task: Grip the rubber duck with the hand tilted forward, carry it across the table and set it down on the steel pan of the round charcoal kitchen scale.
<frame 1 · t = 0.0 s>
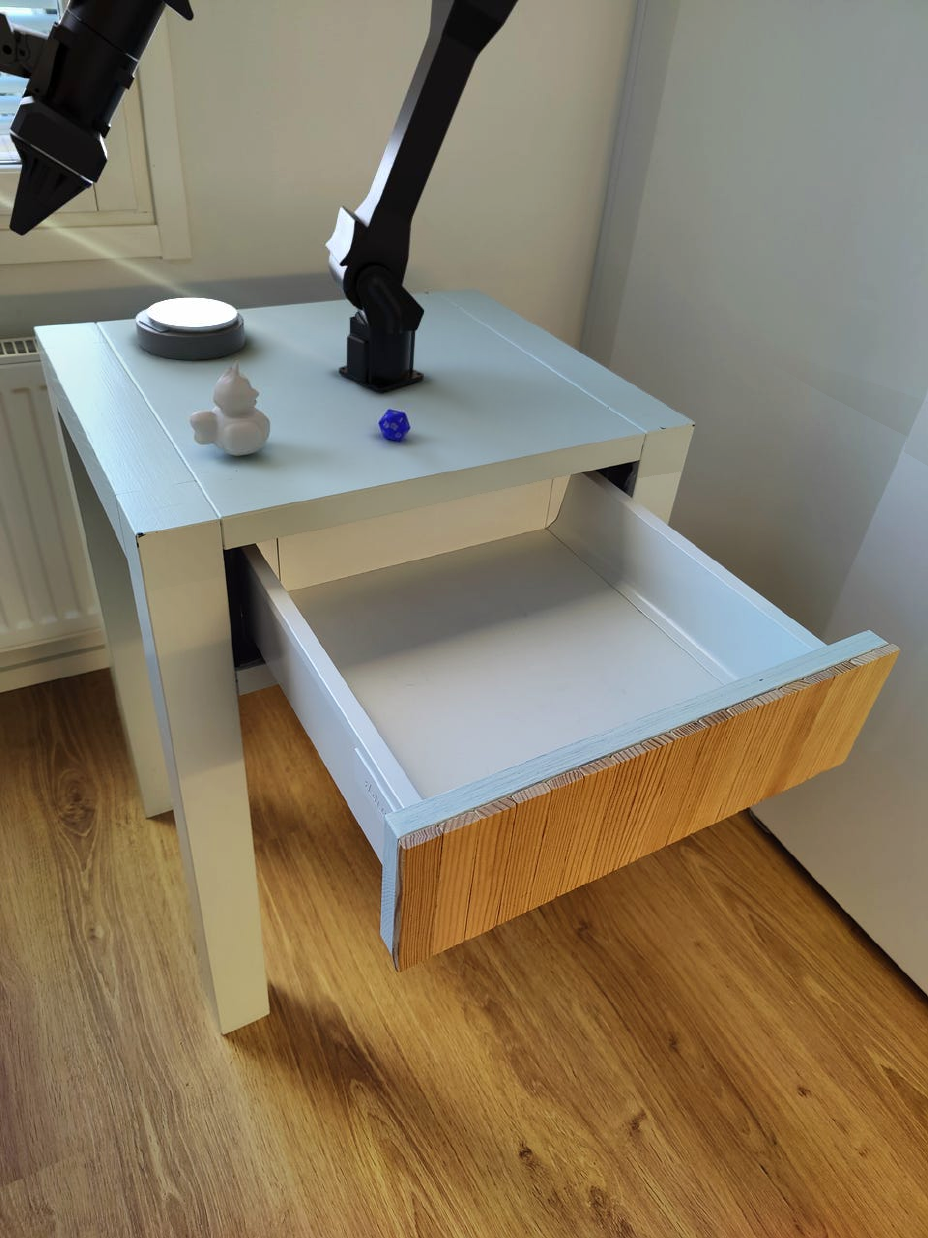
hand: (19, 217, 71), 15 cm above the table, tool tilted 35°, fingers open, 9 cm apart
scale: (192, 341, 93), on the table
rubber duck: (232, 454, 74), on the table
die: (393, 439, 79), on the table
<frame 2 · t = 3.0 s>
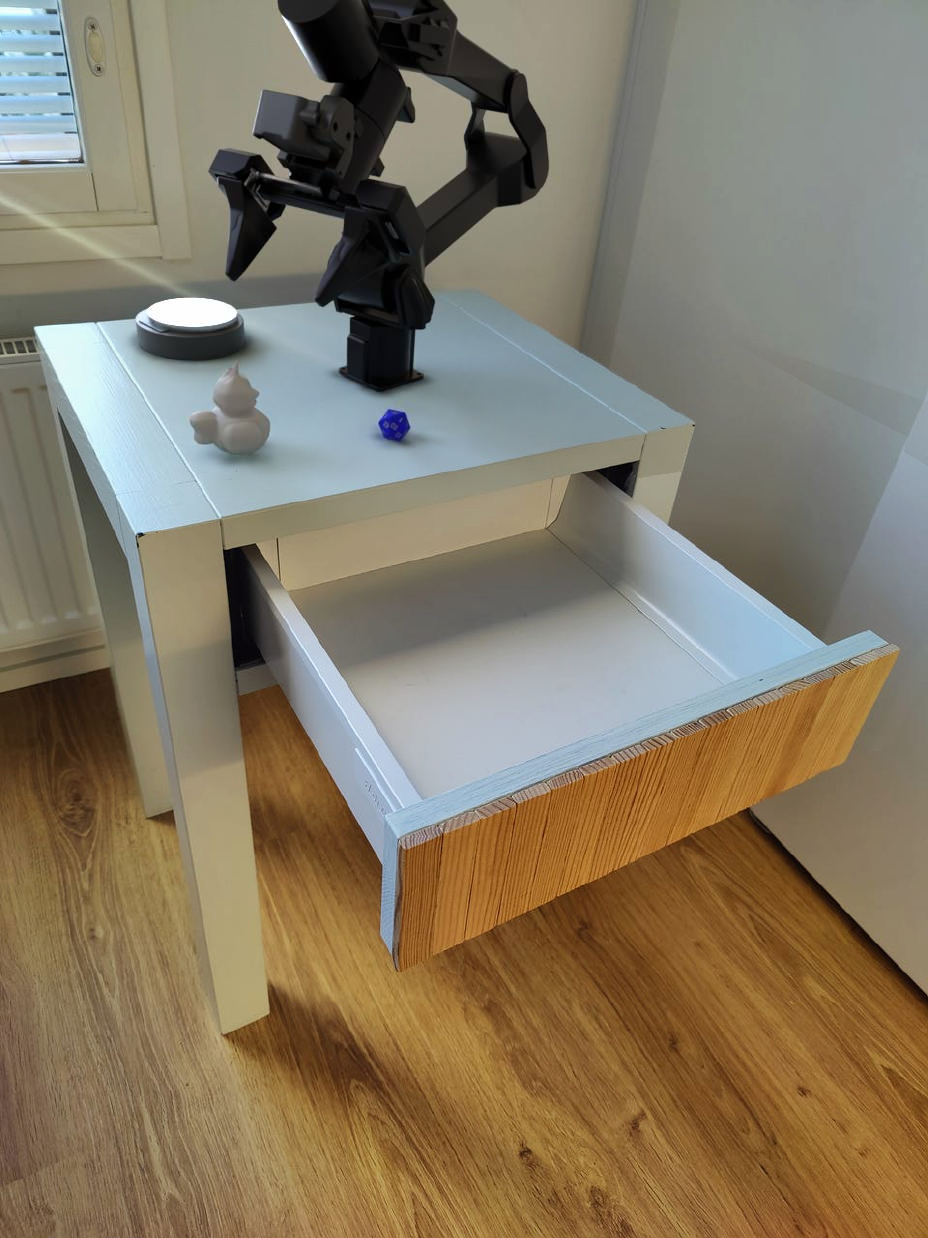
hand: (273, 290, 71), 12 cm above the table, tool tilted 45°, fingers open, 9 cm apart
nothing on the table moved.
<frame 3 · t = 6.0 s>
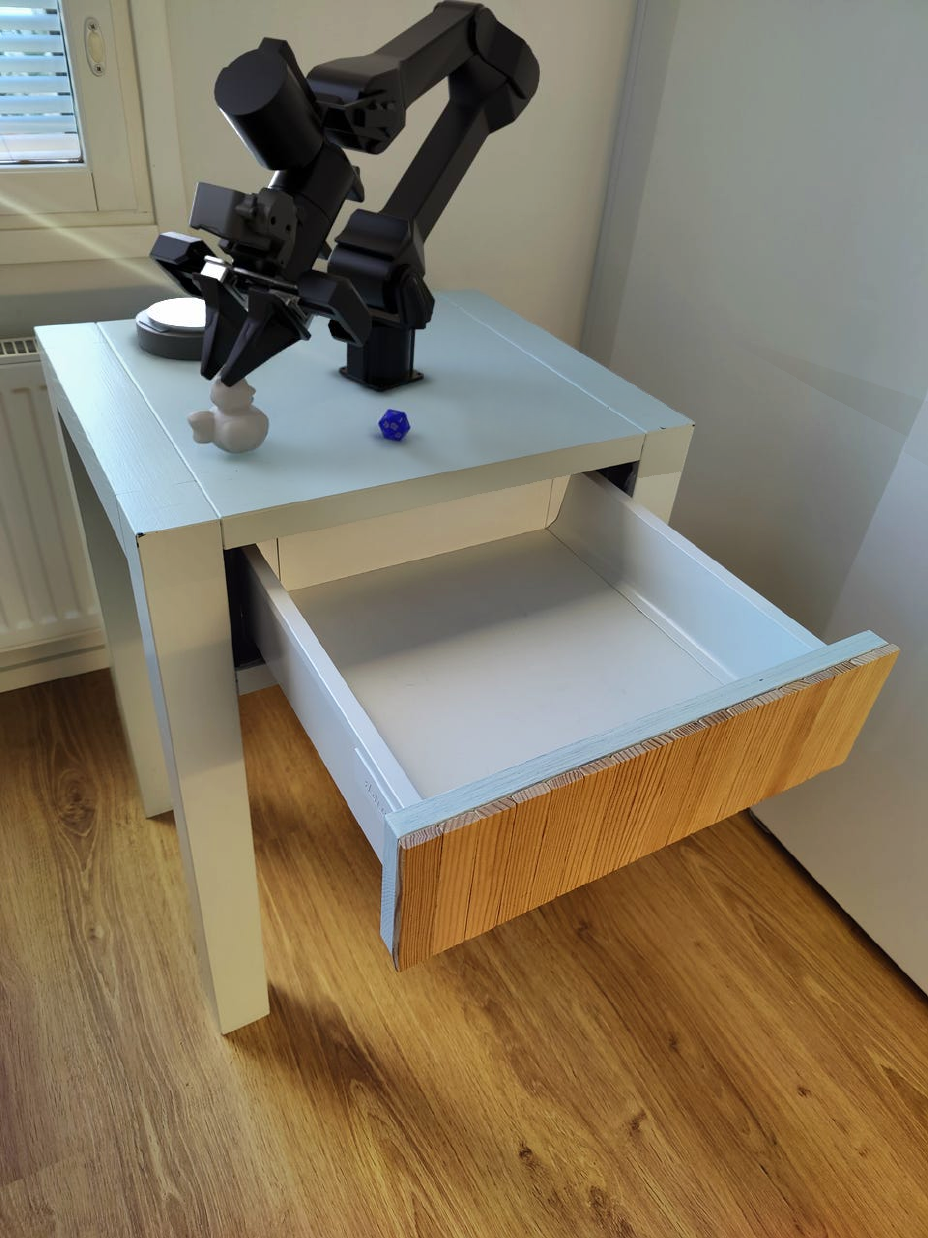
hand: (214, 381, 69), 7 cm above the table, tool tilted 45°, fingers closed on rubber duck
rubber duck: (232, 452, 74), on the table, touching gripper
everything else where it was.
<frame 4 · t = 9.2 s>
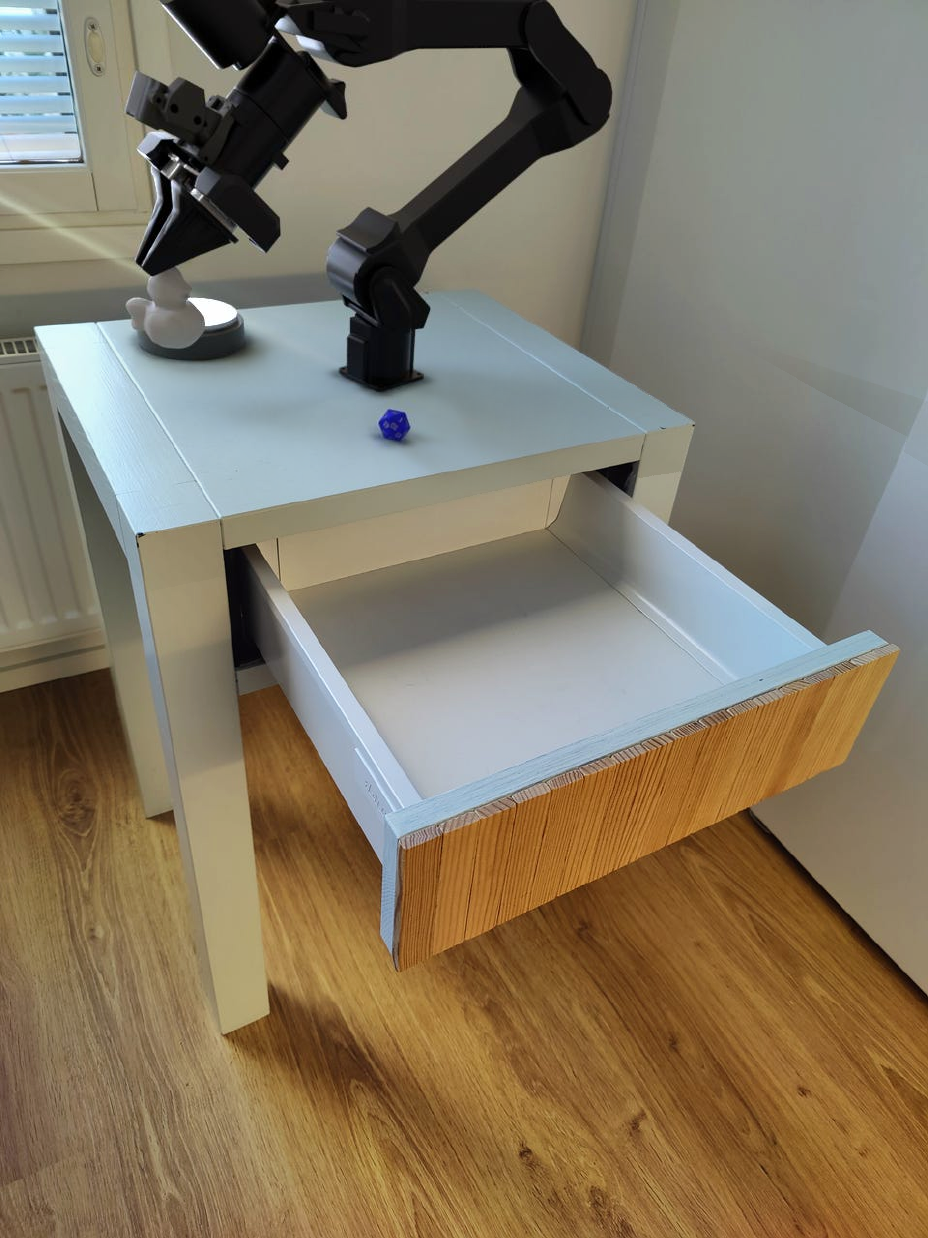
hand: (143, 269, 72), 12 cm above the table, tool tilted 45°, fingers closed on rubber duck
rubber duck: (170, 347, 77), point 5 cm above the table, touching gripper
everything else where it was.
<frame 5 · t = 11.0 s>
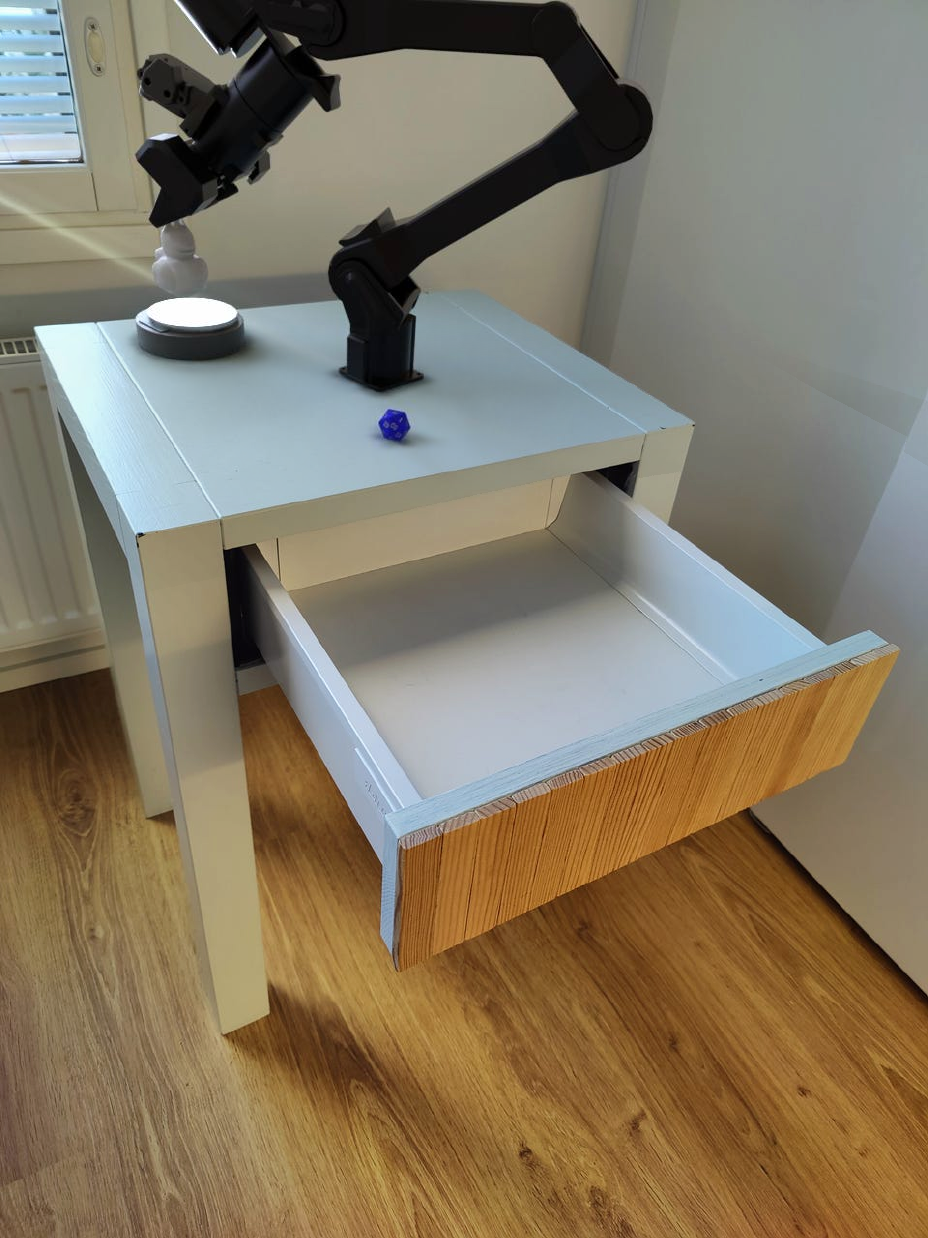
hand: (157, 221, 84), 12 cm above the table, tool tilted 45°, fingers closed on rubber duck
rubber duck: (182, 295, 89), point 5 cm above the table, touching gripper
everything else where it was.
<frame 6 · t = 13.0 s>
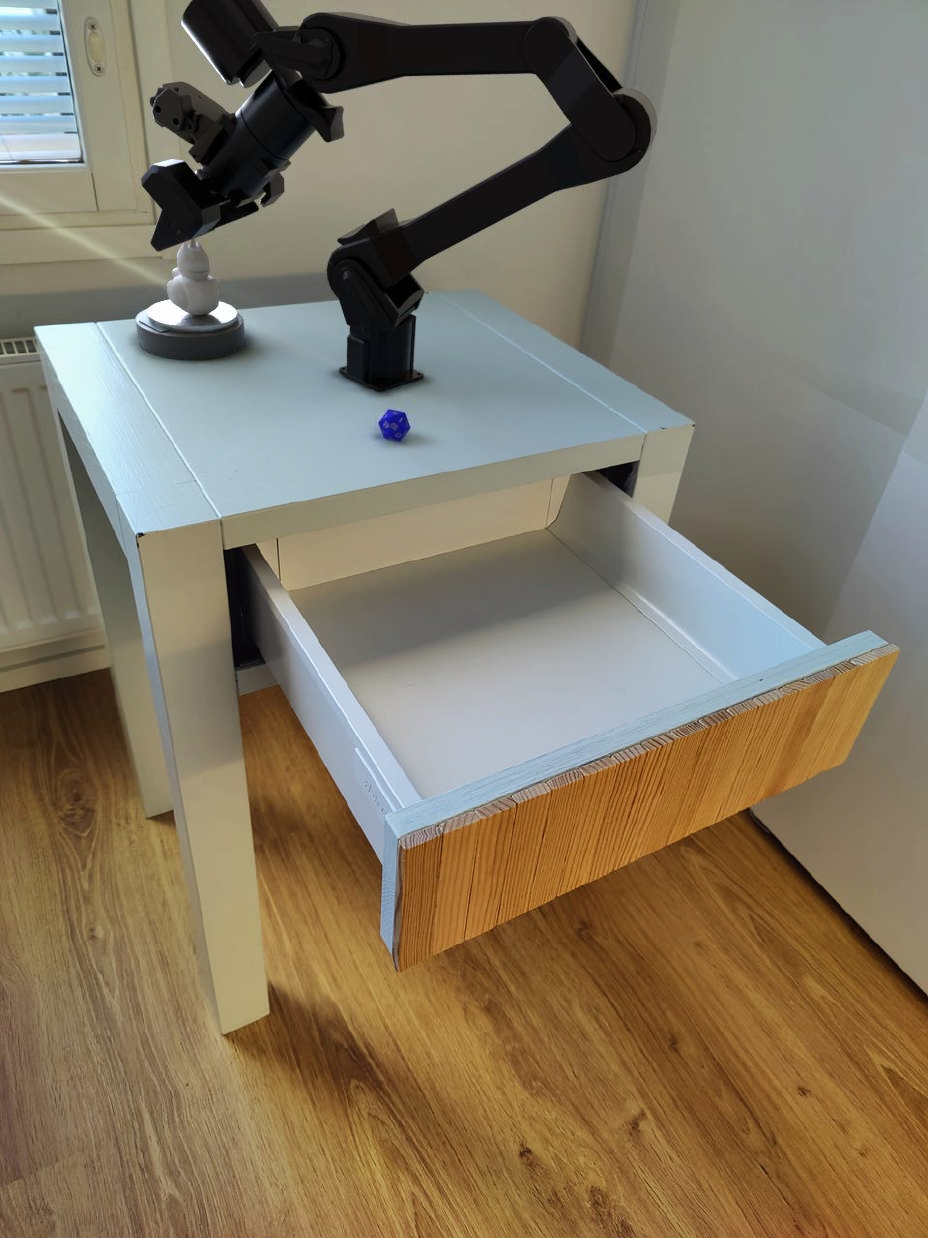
hand: (170, 240, 88), 10 cm above the table, tool tilted 45°, fingers open, 6 cm apart
rubber duck: (195, 313, 92), point 3 cm above the table, touching scale
everything else where it was.
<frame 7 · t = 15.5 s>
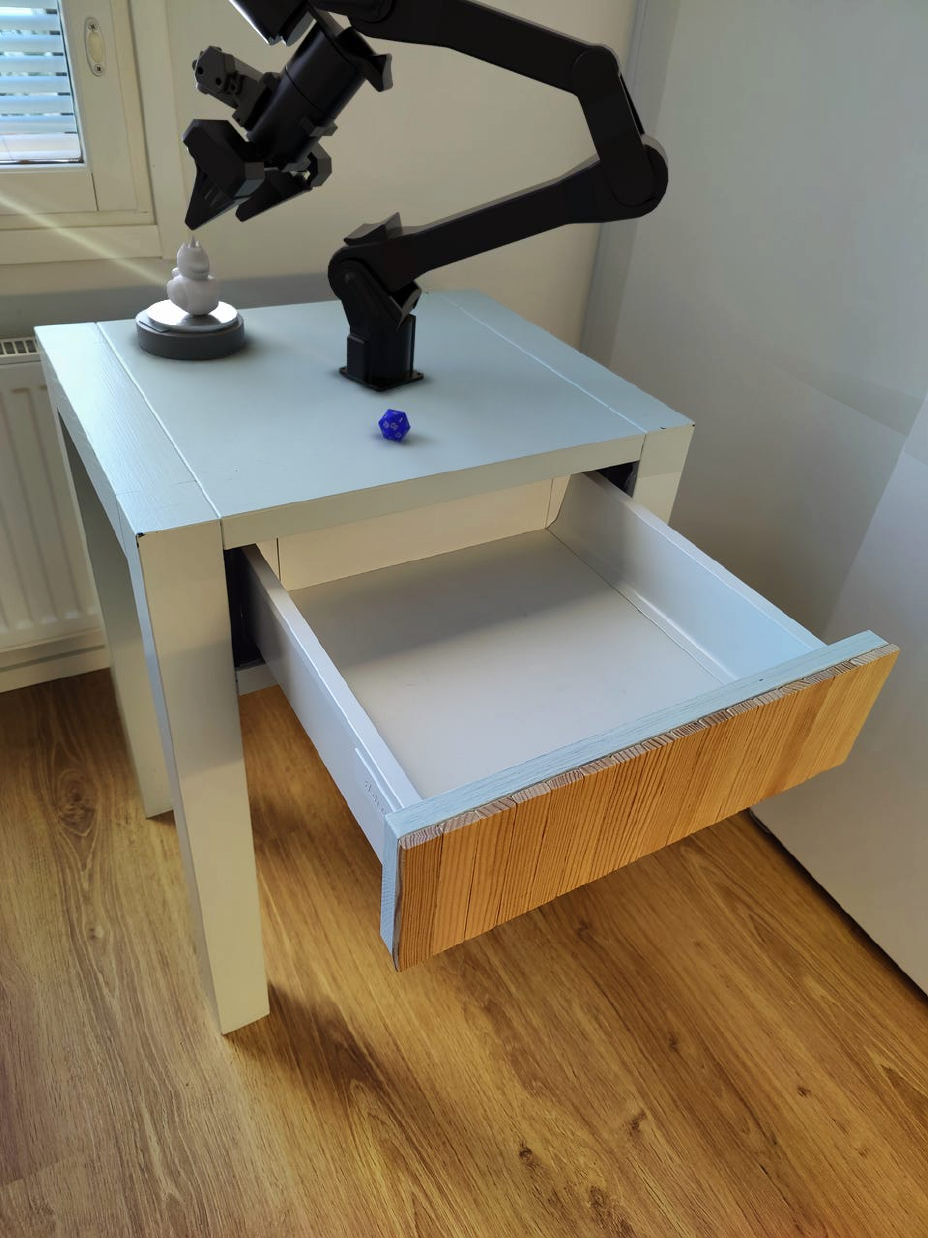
hand: (214, 222, 84), 13 cm above the table, tool tilted 40°, fingers open, 9 cm apart
nothing on the table moved.
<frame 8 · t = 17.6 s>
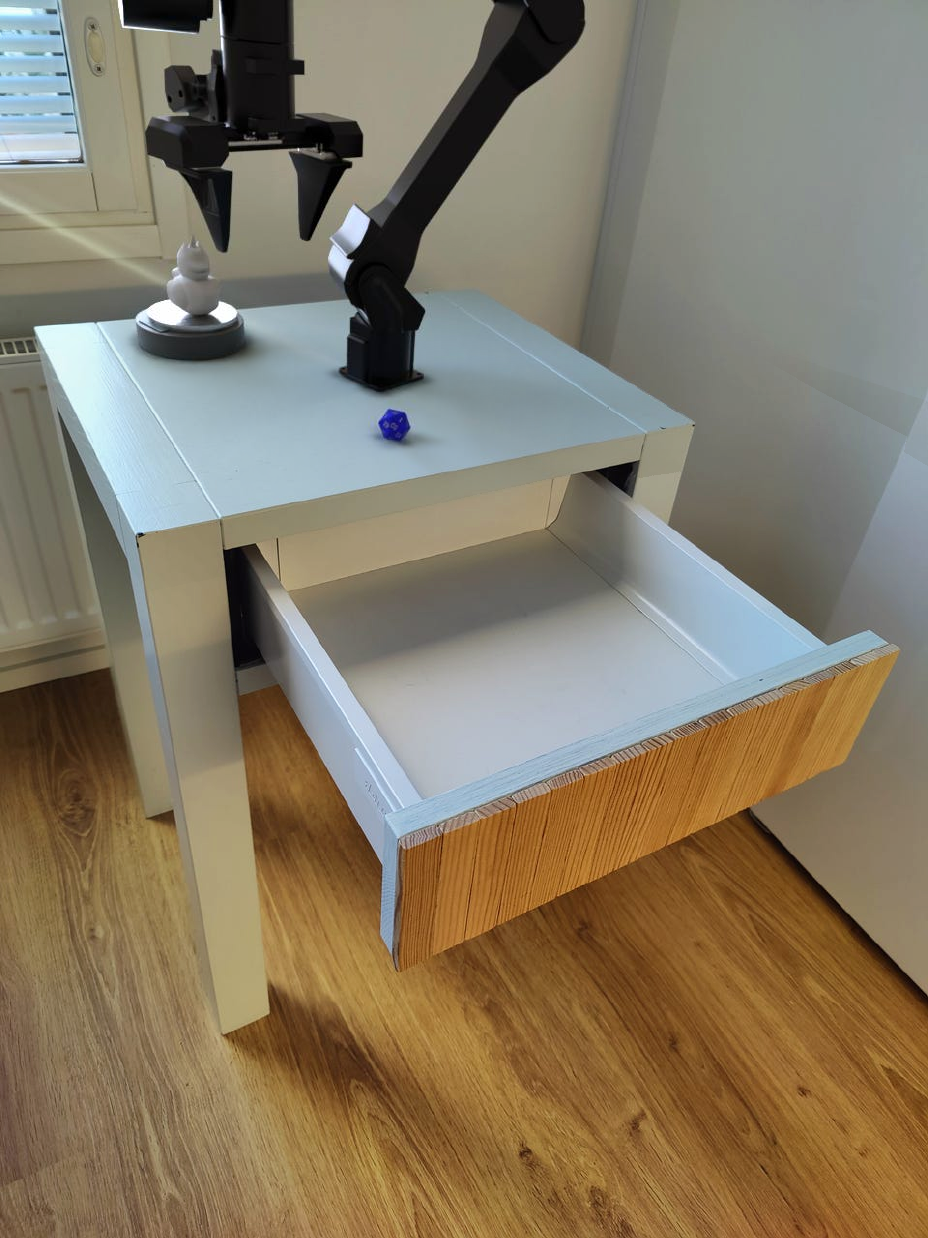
hand: (265, 245, 78), 13 cm above the table, tool pointing down, fingers open, 9 cm apart
nothing on the table moved.
at the end: rubber duck inside the target area on the scale (0.3 cm from its centre), point 2.9 cm above the scale's base; rubber duck tilted 0°; the gripper is holding nothing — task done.
